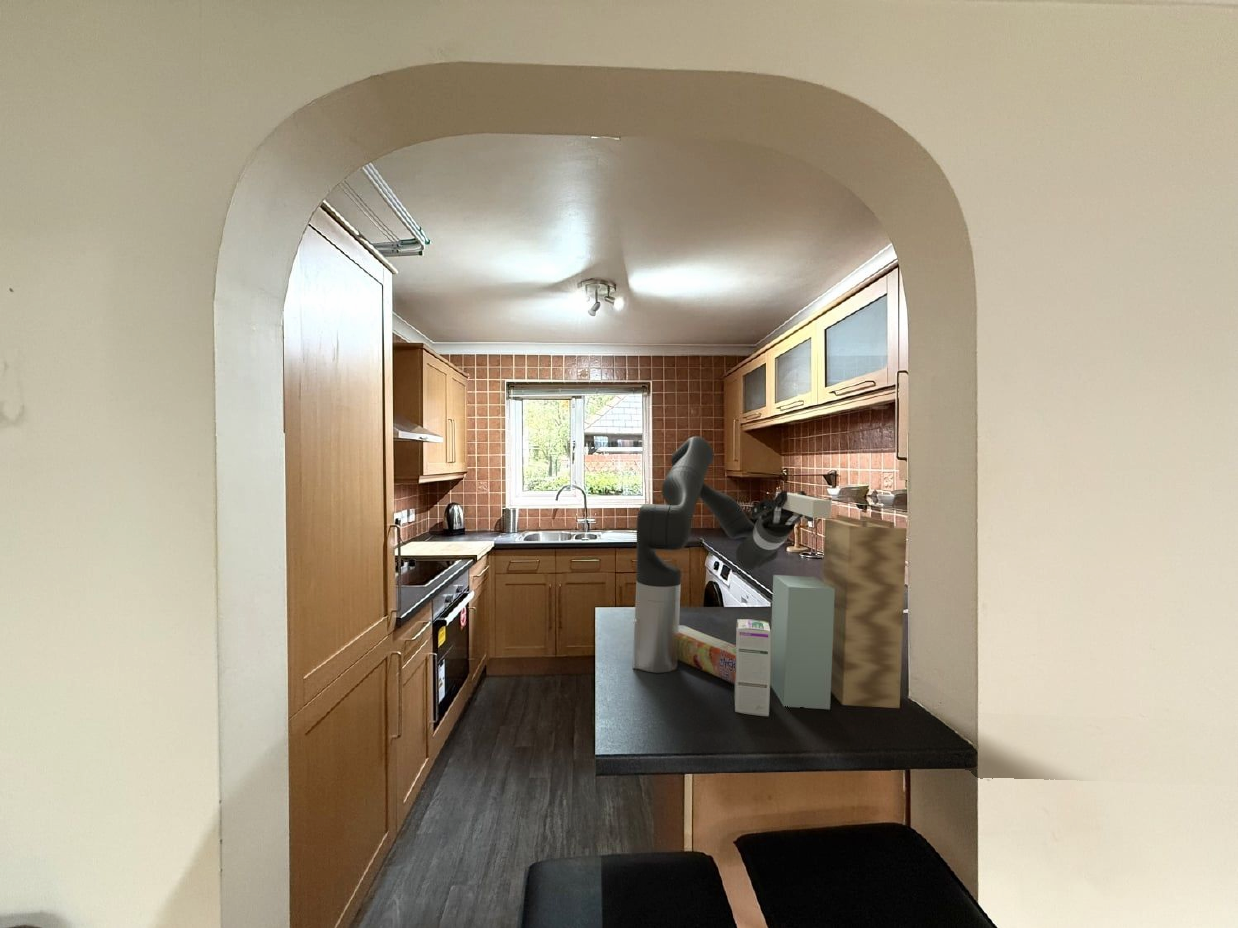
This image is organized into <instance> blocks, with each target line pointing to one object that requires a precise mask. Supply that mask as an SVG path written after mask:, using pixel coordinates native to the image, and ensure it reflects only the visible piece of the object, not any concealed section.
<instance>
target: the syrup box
mask: <svg viewBox="0 0 1238 928" xmlns="http://www.w3.org/2000/svg"><path fill="white" fill-rule="evenodd" d="M736 619H737V618H736ZM735 635H736V638H735V640H736V641H735V646H736V664H735V685H734V711H735V712H736V713H740V714H746V715H752V716H759V717H760V716H761V717H769V715H770V698H771V697H770V696H771V693H770V691H771V685H770V652H771V628H770V622H768V621H764V620H758V619H748V618H747V619H746V618H745V619H739V618H738V619H737V620H736V634H735Z"/></svg>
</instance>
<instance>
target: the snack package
mask: <svg viewBox="0 0 1238 928" xmlns="http://www.w3.org/2000/svg"><path fill="white" fill-rule="evenodd" d="M677 661H680V662H683V663H685V664H687V665H688V666H692V667H693V668H696V669H699V670H701V671H703V672H706V673H708V674H711V675H713V676H715V677H716V678H717V677H718V678H719V679H721V680H724V681H726V682H728V683H730V684H732V685H734V686H735V664H736V644H732V643H730V642H727V641H725V640H722V639H719V638H716V637H713V636H710V635H708V634H706V633H703V632H700V631H698V630H696V629H694V628H691V627H688V626H686V625H679V636H678V659H677Z"/></svg>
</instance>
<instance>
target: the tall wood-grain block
mask: <svg viewBox="0 0 1238 928" xmlns="http://www.w3.org/2000/svg"><path fill="white" fill-rule="evenodd" d="M835 518H836V519H830V518H824V539H823V541H824V542H823V560H822V561H823V567H822V582H824V583H825V584H827V585H829V586H830V587H832V588H834V589H835V596H834V621H833V646H832V670H831V694H832V695H833V696H834V695H835V696H834V698H836V699H837V700H838V702H839V703H840V704H841V705H843V706H853V707H854V706H857V707H872V708H873V707H876V708H892V709H900V707H901V705H900V703H901V679H902V659H903V658H902V655H903V654H902V653H903V634H904V633H903V631H904V626H903V625H904V607H905V606H904V604H905V577H906V555H907V528H906V527H901V526H898V525H897V526H896V525H895V522H894V521H890V520H886V519H882V518H881V519H880V518H877V517H876V518H875V517H871V516H866V515H860V518H856V517H855V518H854V517H852V516H846V515H842V514H836V516H835Z"/></svg>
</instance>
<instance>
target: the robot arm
mask: <svg viewBox="0 0 1238 928" xmlns="http://www.w3.org/2000/svg"><path fill="white" fill-rule="evenodd" d="M714 459H715V454H714V450H713V448H712V445H711V444H710V443H709V441H708V440H706V439H705V438H703V437H701V436H697V435H696V436H692V437H689V438H688V439H687V440H685V441H684V442H683V443H682V444H681V445H680V446H679V447H678V448H677V449H676V450H675V451H674V452H673V453H672V454H671V456H670V462H671V464H672V467H671V468H670V470H669V471H668V472H667V474H666V476H665V478H664V480H663V481H662V485H661V494H662V498H663V499H664V501H665V503H666V504H657V503H655V504H653V503H645V504H643V505H641V506H640V508H639V510H638V513H637V516H636V582H635V583H636V584H635V609H634V625H633V648H632V669H638V670H641V671H643V672H644V671H645V672H648V673H649V672H650V673H669V672H673V671H675V670H676V669H677V667H678V636H679V626H680V610H681V609H680V607H681V606H680V605H681V581H682V572H681V570H680V568H678V567H677V566H676V565H673V564H671V563H669V562H667V561H665V560H664V559H662V558H661V557H660V556H659V555H657V553H656V551H655V550H665V551H679V550H682V549H684V548H685V547H686V545H687V544H688V542H689V538H690V535H691V531H692V523H693V518H694V513H695V510H696V506H697V503H698V500H699V499H700V500H701V501H702V502H703V504H704V505H706V507H707V508H708V509H709V510H710V512H711V513H712V514H713V516H714V517H715V518H716V519H715V520H717V522H718V523H719V524H720V527H722V529H723V530H724V532H725V534H726V535H727V536H728V537H729V539H732V540H736V539H739V538H745V539H744V540H743V541H742V542H741V543H740V544H739V545H738V546H737V548H736V549H735V554H734V555H735V556H734V557H735V560H736V564H738V565H737V566H738V567H740V568H741V570H743V571H746V572H754V571H757V570H759V569H760V568H763V567H764V566H766V565H767V564H769V563H771V562H773V561H775V560H776V559H777V557H778V554H779V551H778V549H779V548H780V546H782V545H783V544H784V543H785V542H786V540H787V539H788V537H789V536H790V535H791V534H792V533H793V531H794V529H795V526H796V525H797V523H800V521H801V520H805V521H806V520H807V522H809V523H811V522H813V521H815V520H814V518H812V517H809V516H805V515H802V514H799V513H796V512H793V511H789V510H786V509H783V508H781V507H783V505H784V504H785V502H786V501H787V493H788V490H786V489H783V490H782V491H779V492H780V493H778V495H777V497H776V496H775V497H774V498H773V499H771V498H770V497H769V498H768V497H767V498H765V499H762V500H761V501H759V502H757V503H756V504H754V505H753V506H751V507H750V518H751V519H752V520H757V521H756V522H755V523H754V522H752V520H751V519H750V518H749V517H748V516H747V514H746V513H745V511H744V510H743V508H742V507H741V505H740V504H739V503H738V502H737V500H735V498H733V497H732V496H730V495H729V494H726V493H724V492H722V491H719V490H717V489H714V488H712V487H711V486H709V485H707V484H706V483H704V481H705V478H706V475H707V471H708V470H709V468H710V467H711V464H712V463H713V462H714ZM805 492H806V491H805V490H800V491H799V493H798V494H799V495H804V496H808V495H807V493H805Z"/></svg>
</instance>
